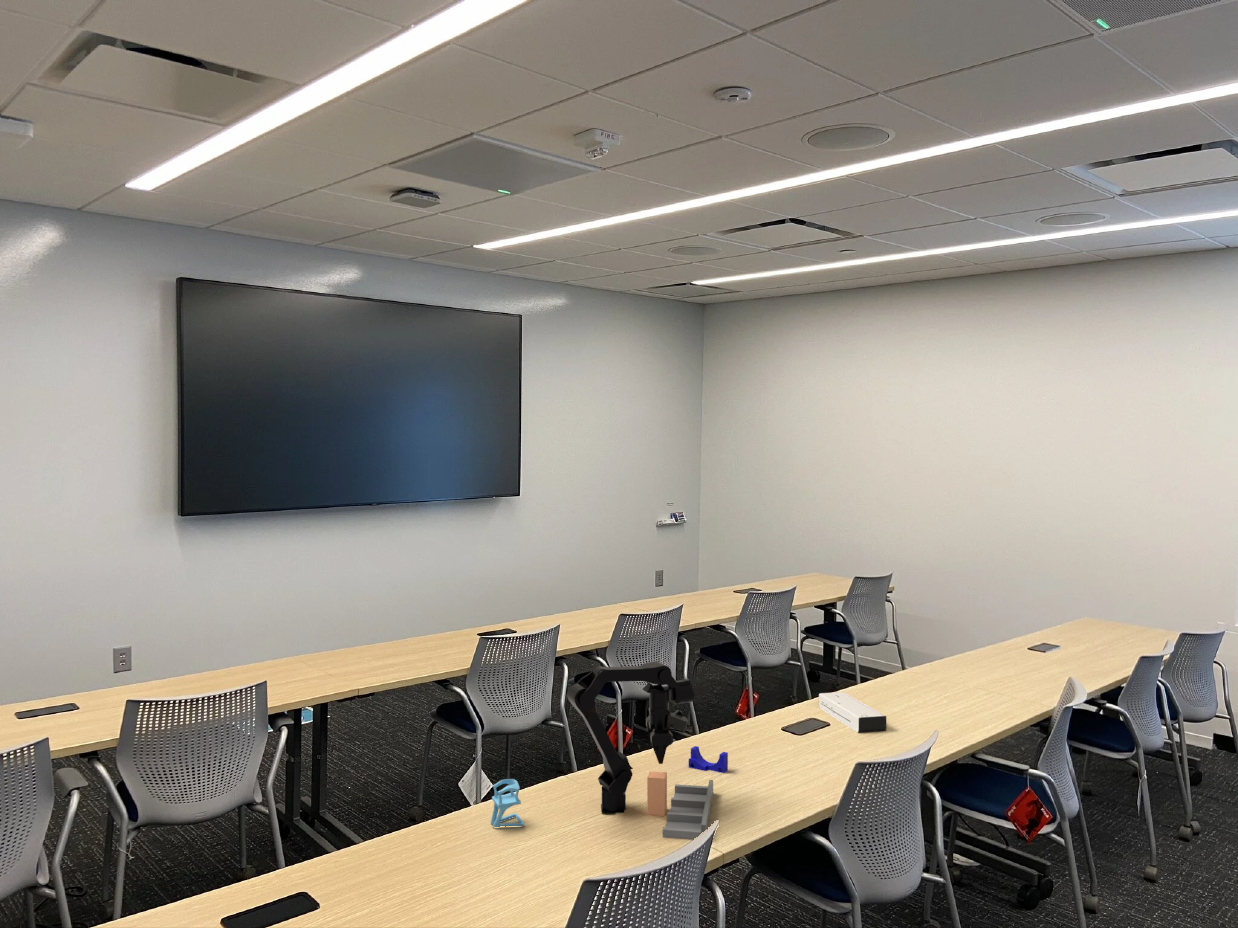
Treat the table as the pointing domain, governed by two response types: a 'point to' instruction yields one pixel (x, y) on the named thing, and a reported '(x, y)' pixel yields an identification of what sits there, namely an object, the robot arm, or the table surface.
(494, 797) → the chair
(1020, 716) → the table surface
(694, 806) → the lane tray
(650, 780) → the terracotta block
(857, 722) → the laminator
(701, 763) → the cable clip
